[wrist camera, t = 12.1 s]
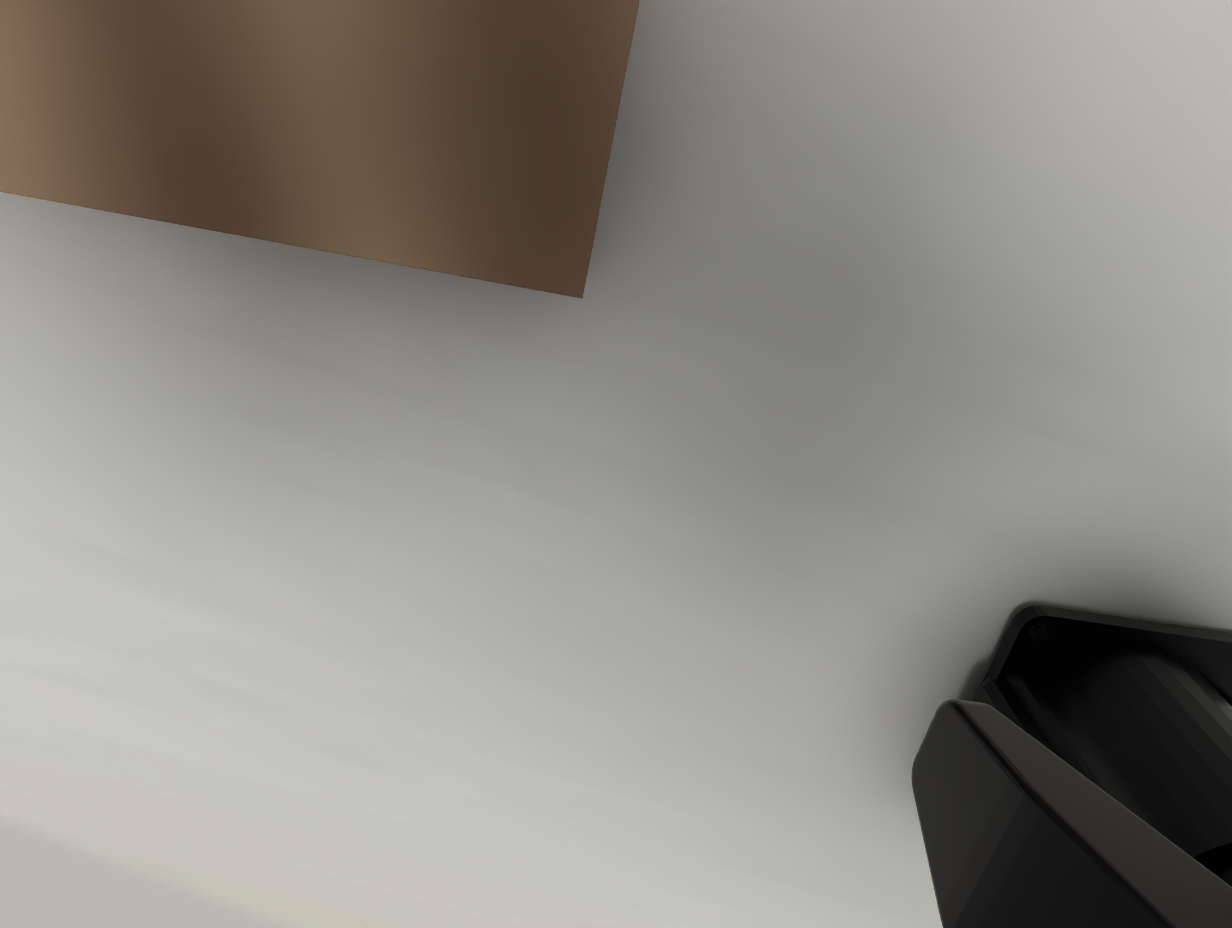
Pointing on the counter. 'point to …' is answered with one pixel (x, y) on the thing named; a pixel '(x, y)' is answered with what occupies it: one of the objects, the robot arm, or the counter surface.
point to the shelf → (328, 123)
